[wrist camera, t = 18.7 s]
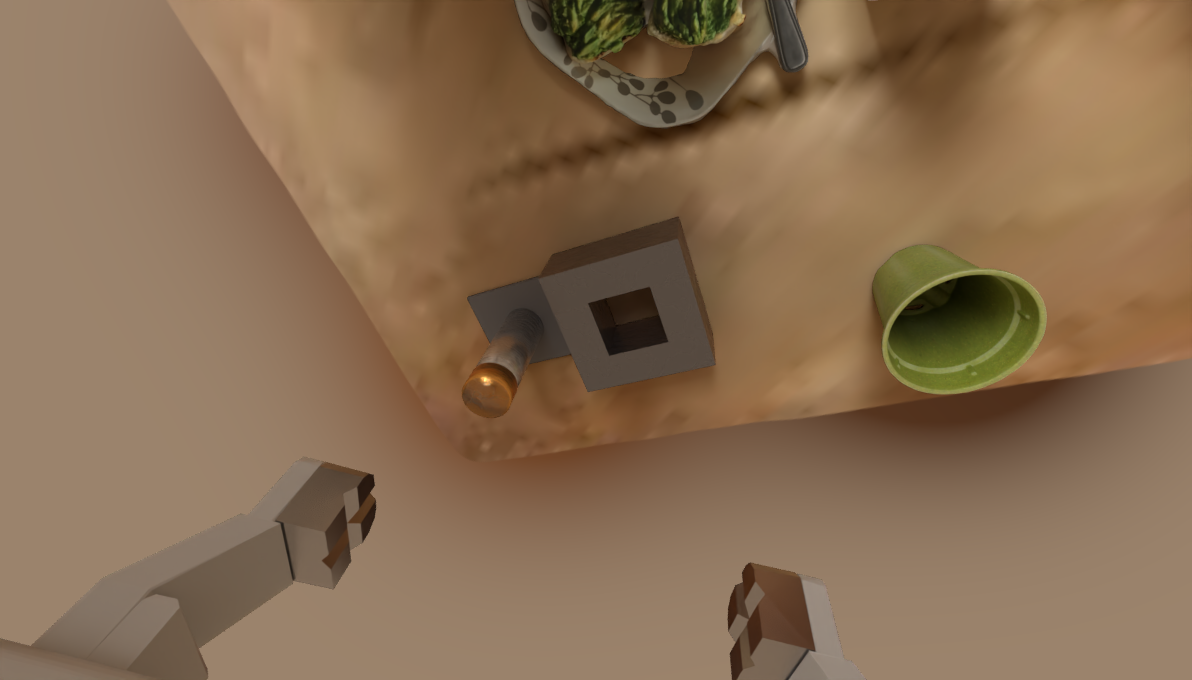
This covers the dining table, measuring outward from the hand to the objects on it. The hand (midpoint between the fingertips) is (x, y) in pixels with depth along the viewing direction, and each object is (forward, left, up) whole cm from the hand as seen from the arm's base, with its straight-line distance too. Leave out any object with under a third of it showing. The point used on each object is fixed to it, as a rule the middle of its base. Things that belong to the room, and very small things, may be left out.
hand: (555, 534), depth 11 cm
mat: (+10, -15, -34) cm, 39 cm away
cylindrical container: (+10, -15, -34) cm, 38 cm away
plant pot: (+15, +17, -34) cm, 41 cm away
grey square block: (+10, -4, -34) cm, 36 cm away
